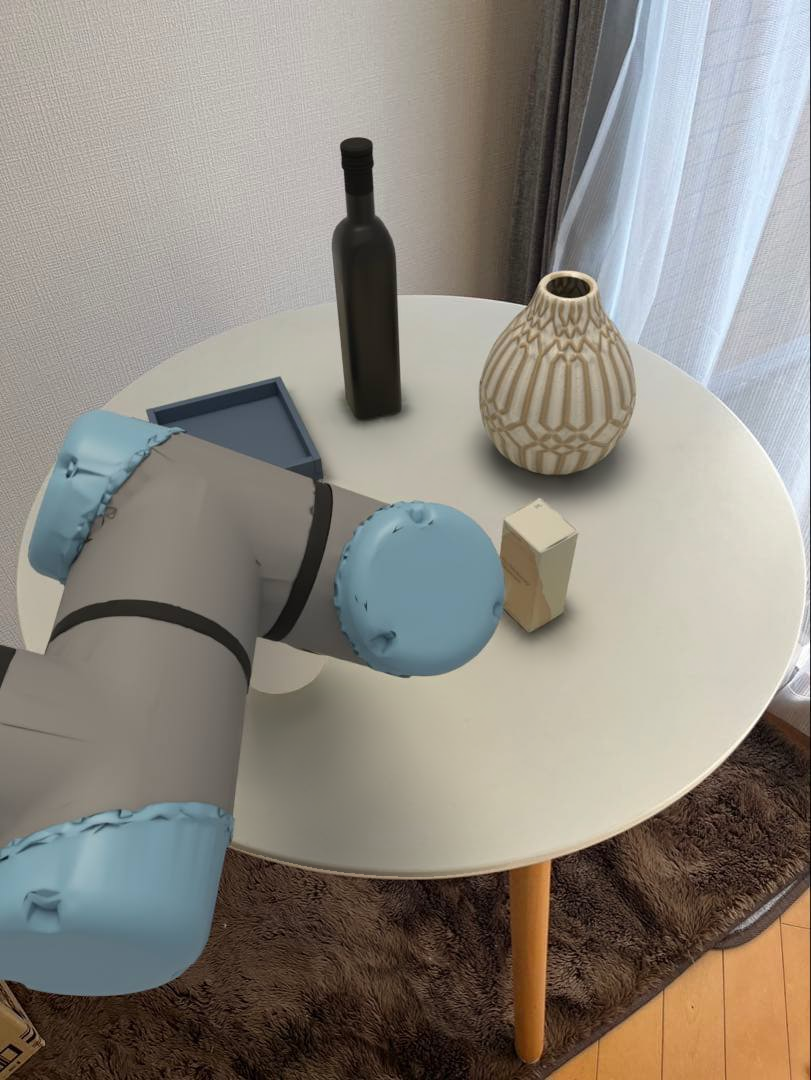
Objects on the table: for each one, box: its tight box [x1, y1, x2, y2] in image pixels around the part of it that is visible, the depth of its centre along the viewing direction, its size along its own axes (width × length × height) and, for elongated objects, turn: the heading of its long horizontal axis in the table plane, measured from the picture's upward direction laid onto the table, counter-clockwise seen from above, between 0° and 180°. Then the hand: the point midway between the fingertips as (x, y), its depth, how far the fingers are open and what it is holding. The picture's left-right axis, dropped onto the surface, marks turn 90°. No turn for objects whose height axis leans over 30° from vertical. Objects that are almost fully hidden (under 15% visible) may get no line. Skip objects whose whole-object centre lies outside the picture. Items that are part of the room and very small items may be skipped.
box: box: [499, 497, 579, 633], centre depth 79 cm, size 5×4×11 cm
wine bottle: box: [331, 136, 403, 421], centre depth 93 cm, size 6×6×30 cm
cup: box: [249, 637, 326, 695], centre depth 69 cm, size 7×7×14 cm
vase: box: [478, 270, 637, 476], centre depth 90 cm, size 16×16×20 cm
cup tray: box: [145, 375, 325, 481], centre depth 98 cm, size 16×16×3 cm
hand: (255, 590), depth 73 cm, fingers closed on cup, 7 cm apart
